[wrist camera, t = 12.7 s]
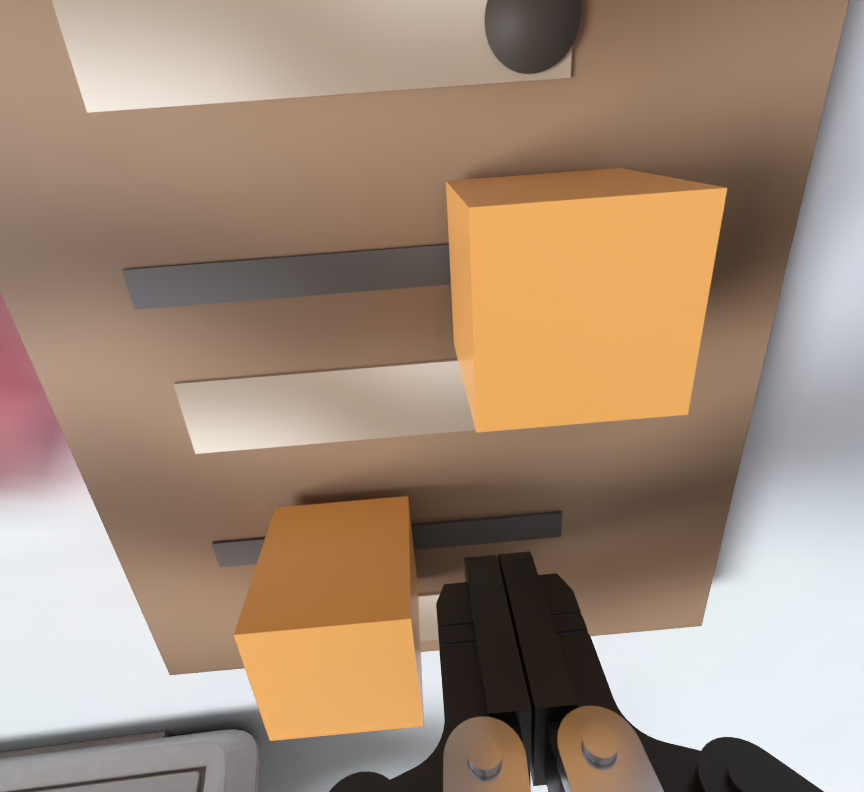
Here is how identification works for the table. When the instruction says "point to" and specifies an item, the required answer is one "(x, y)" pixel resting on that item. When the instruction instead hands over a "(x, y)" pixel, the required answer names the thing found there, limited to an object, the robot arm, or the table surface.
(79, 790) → the digital clock
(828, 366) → the table surface
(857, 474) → the table surface
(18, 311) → the switch panel
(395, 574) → the knob
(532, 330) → the knob middle
